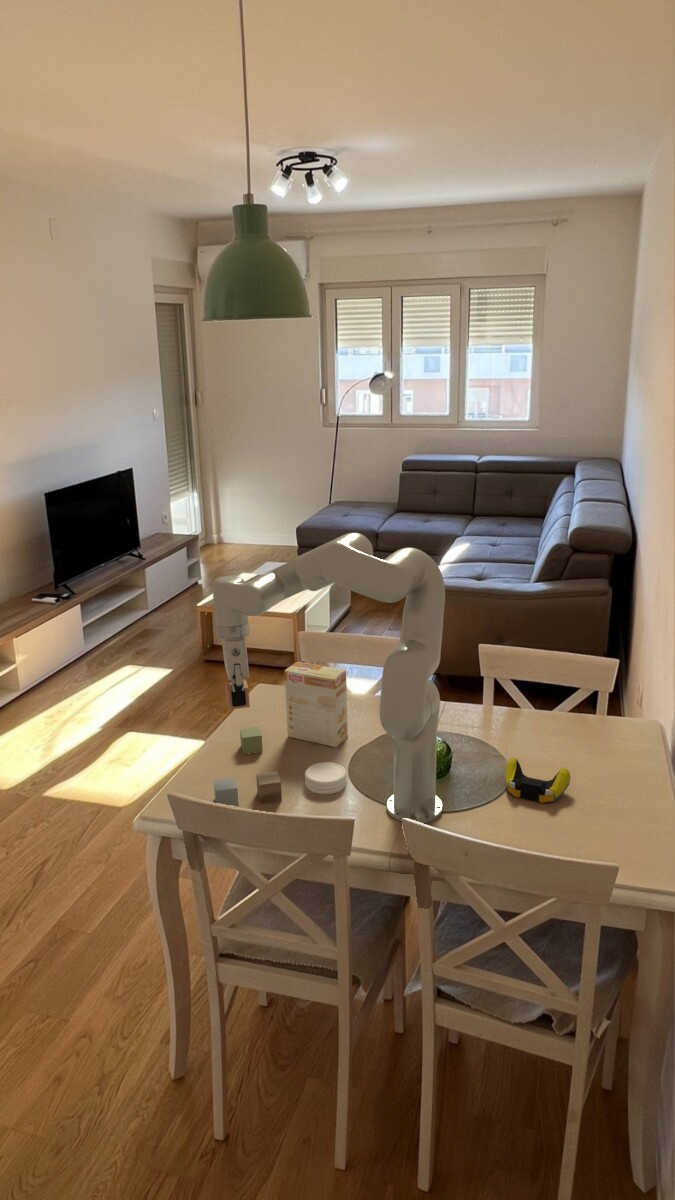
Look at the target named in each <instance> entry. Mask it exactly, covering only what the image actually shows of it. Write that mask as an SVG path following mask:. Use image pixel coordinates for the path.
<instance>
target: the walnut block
mask: <svg viewBox="0 0 675 1200" xmlns="http://www.w3.org/2000/svg"><path fill="white" fill-rule="evenodd" d="M255 776H256V788H257V789H256V791H257V796H258V799H259V804H266V803H267V804H268V803H275V802H281V801H283V800H282V799H283V796H282V781H281V778H280V774H279V772H278V771H277V770H275V771H268V772H262V773H261V772H260V773H256V775H255Z"/></svg>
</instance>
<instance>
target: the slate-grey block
mask: <svg viewBox="0 0 675 1200" xmlns="http://www.w3.org/2000/svg"><path fill="white" fill-rule="evenodd" d="M213 790H214V791H213V792H214V801H215V804H216V803H221V804H226V805H234V806H239V807H240V805H239V792H238V784H237V780H236V776H232V777H226V778H225V777H224V778H218V779H213Z"/></svg>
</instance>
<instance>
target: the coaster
mask: <svg viewBox="0 0 675 1200" xmlns="http://www.w3.org/2000/svg"><path fill="white" fill-rule="evenodd" d="M347 774H348V773H347V770H346V768H345V767H344V766H342V765H341V764H339V763H336V762H330V761H328V762H325V761H324V762H317V763H314V764H311V765H310V766H308V767H307V768H306V770H305V772H304V781H305V782H304V784H305V787H306V788H307V791H309V792H312V793H314V794H318V795H332V794H337V793H340V792H342V791H343V790H344V789H345V788H346V786H347V783H348V781H347V780H348V777H347Z"/></svg>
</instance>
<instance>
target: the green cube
mask: <svg viewBox="0 0 675 1200" xmlns="http://www.w3.org/2000/svg"><path fill="white" fill-rule="evenodd" d="M239 733H240V734H239V735H240V747H242V748H241V750H242V751H243V752H242V751H241V752H242V755H243V754H248V753H255V752H263V751H264V749H263V735H262V731H261V729H260V726H256V727H247V728H240V729H239ZM255 754H256V753H255ZM248 755H249V754H248Z"/></svg>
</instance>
